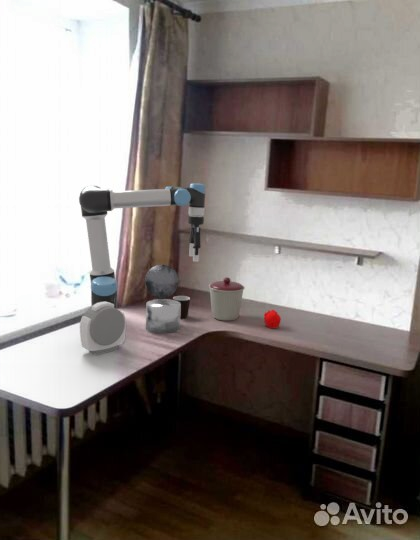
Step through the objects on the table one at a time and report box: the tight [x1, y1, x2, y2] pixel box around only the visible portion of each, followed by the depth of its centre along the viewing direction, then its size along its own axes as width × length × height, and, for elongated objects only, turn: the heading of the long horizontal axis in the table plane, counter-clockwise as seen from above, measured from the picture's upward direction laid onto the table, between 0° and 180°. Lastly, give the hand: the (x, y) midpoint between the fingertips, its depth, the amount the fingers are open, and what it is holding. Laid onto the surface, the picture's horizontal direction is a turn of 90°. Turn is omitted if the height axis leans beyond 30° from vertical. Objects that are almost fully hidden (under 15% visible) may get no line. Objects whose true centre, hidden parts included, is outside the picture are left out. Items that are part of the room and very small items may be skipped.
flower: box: [263, 309, 282, 329], centre depth 244 cm, size 8×8×8 cm
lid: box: [144, 264, 180, 299], centre depth 243 cm, size 16×16×3 cm
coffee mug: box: [172, 295, 191, 320], centre depth 255 cm, size 12×9×10 cm
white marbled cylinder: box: [145, 298, 181, 335], centre depth 236 cm, size 16×18×12 cm
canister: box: [208, 277, 246, 322], centre depth 254 cm, size 18×18×21 cm
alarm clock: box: [79, 301, 127, 356], centre depth 205 cm, size 18×8×20 cm, turn 133°
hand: (193, 258), depth 249 cm, fingers open, 13 cm apart
